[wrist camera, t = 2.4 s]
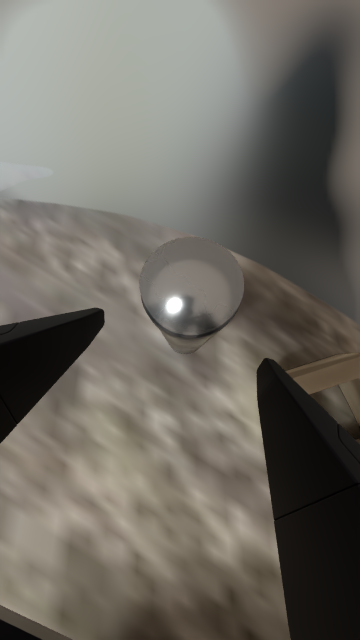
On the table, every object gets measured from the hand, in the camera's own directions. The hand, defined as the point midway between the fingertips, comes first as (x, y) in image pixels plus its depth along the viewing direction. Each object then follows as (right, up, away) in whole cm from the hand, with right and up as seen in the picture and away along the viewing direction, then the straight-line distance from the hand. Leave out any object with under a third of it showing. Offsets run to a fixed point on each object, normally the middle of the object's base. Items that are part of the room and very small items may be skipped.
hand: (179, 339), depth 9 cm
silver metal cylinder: (+1, -1, +9) cm, 9 cm away
